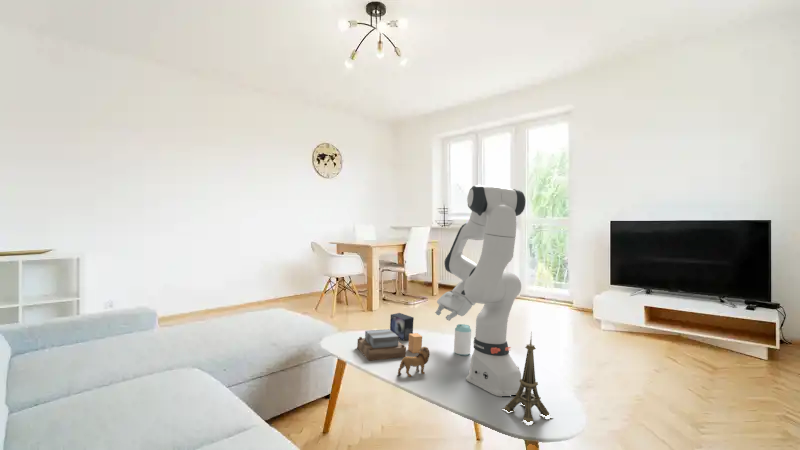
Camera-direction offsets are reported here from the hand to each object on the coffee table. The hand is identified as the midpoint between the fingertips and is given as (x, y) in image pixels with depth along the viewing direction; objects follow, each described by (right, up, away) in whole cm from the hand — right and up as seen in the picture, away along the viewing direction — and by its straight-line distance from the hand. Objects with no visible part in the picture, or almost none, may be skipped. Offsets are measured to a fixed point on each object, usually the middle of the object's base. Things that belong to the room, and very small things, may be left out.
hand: (441, 316), depth 172 cm
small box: (-18, -13, +14) cm, 27 cm away
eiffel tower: (+19, -16, -57) cm, 62 cm away
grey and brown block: (-27, -13, -9) cm, 31 cm away
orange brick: (-12, -14, -5) cm, 19 cm away
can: (+8, -15, -5) cm, 18 cm away
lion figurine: (-14, -14, -30) cm, 36 cm away
